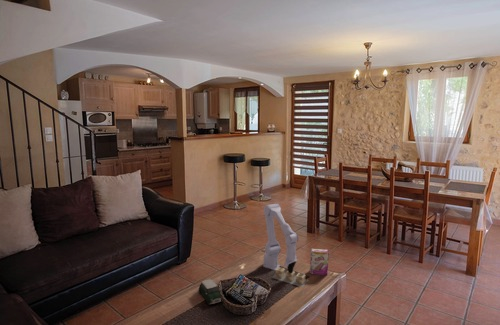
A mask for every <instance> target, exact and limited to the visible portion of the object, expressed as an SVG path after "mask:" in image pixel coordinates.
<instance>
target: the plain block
mask: <svg viewBox="0 0 500 325" xmlns="http://www.w3.org/2000/svg"><path fill="white" fill-rule="evenodd" d="M285 273H286V278H285V279H286V280H289V281H293V280H294V279H295V276H296V271H294V270H293V272H292V273H289V272H288V270H287V271H285Z"/></svg>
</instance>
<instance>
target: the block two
mask: <svg viewBox="0 0 500 325" xmlns="http://www.w3.org/2000/svg"><path fill="white" fill-rule="evenodd" d="M295 276H296V283H299V284H302V285H303V283H304V282H305V279H306V274H305V273H302V272H298V273H297V274H295Z"/></svg>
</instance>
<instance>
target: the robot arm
mask: <svg viewBox="0 0 500 325" xmlns="http://www.w3.org/2000/svg"><path fill="white" fill-rule="evenodd" d="M263 214H264V215H263V216H264V217H265V218H264V219H265V224H266V226H265V227H266V232H267V233H266V234H267V241H266V243H265V245H264V246H265V248H264V251H265V252H264V256H263V268H265V269H271V270H274V271H276V269H277V268H278V267H280V266H281V265H280V264H279V255H280V253H281V251H282V247H281V245H280V242H279V241H278V240H277V239H276V238H277V236H276V231H275V222H274V221H275V220H274V218H275V219H276V221H277V222H278V223H279V225H280V230H281V232H282V234H283V235H284V240H285V241H284V242H285V246H286V255H285V262H284V267H287V271H288V272H289V273H292V272H293V271H294V269H295V268H294V267H295V266H296V263H297V261H298V259H297V258H298V257H297V254H296V253H297V242H298V241H299V236H298V234H297V233H296V232H295V231H293V229H292V228H291V226H290V224H289V223H287V222H286V221H285V219H284V216H283V214H282V208H281V206H280V204H279V203H277V202H276V203H273V204H272V203H271V204H265V205H264V207H263Z"/></svg>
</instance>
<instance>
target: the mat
mask: <svg viewBox="0 0 500 325" xmlns="http://www.w3.org/2000/svg"><path fill="white" fill-rule="evenodd" d="M271 278H272V279H275V280H278V281H280V282H281V281H282V282H285V283H287V284H291V285H294V286H298V287H300V288H304V286H305V285H306V284H307V283H308V281H309V279H306V278H305V282H304V283H303V285H302V284H299V283H296V275H295V279H294V280H293V281H289V280H286V279H285V278H286V272H285V275H284V277H283V278H279V277H276V273H275V274H274V275H273V276H271Z"/></svg>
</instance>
